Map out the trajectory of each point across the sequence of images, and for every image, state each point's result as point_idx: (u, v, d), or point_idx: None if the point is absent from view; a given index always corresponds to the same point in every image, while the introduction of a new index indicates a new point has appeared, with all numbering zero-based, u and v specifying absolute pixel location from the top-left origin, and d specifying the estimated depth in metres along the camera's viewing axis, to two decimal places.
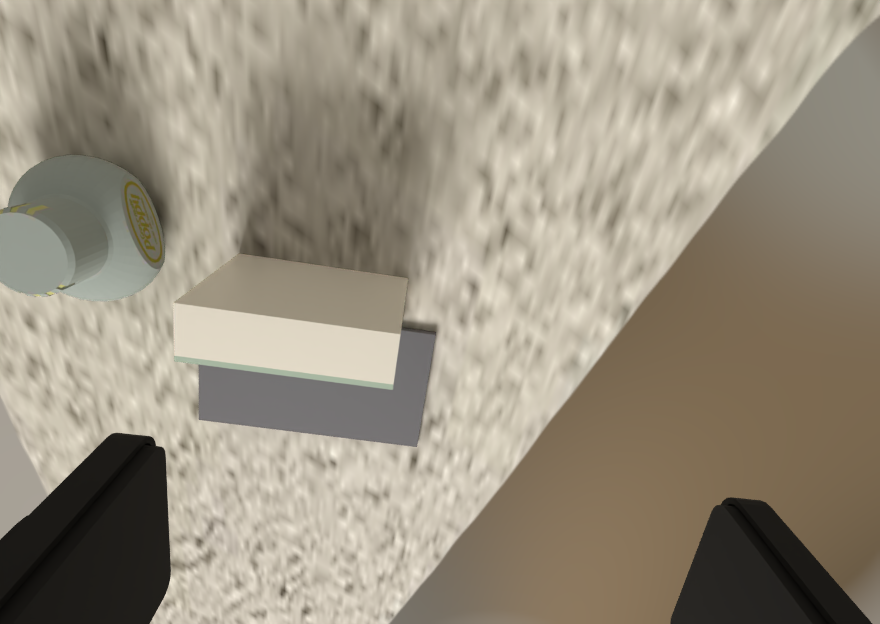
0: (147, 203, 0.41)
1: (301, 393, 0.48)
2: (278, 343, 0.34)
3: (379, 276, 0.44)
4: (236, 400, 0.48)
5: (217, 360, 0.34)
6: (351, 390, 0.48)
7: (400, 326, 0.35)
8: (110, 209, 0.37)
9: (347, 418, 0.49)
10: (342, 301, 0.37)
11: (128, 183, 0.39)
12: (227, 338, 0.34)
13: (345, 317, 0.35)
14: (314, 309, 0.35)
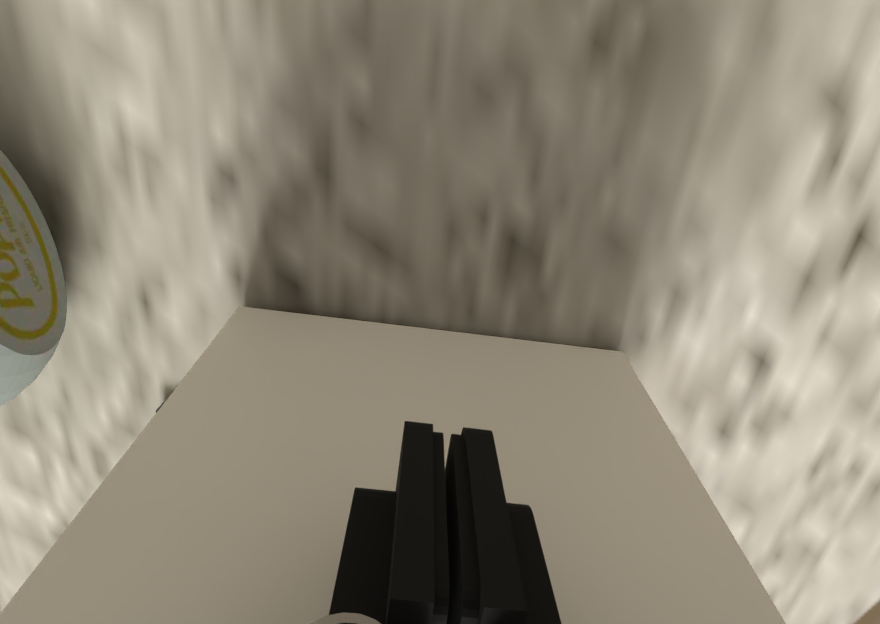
0: (10, 191, 0.16)
1: None
2: None
3: (564, 353, 0.19)
4: None
5: None
6: None
7: None
8: None
9: None
10: (543, 494, 0.13)
11: None
12: None
13: (601, 608, 0.10)
14: None
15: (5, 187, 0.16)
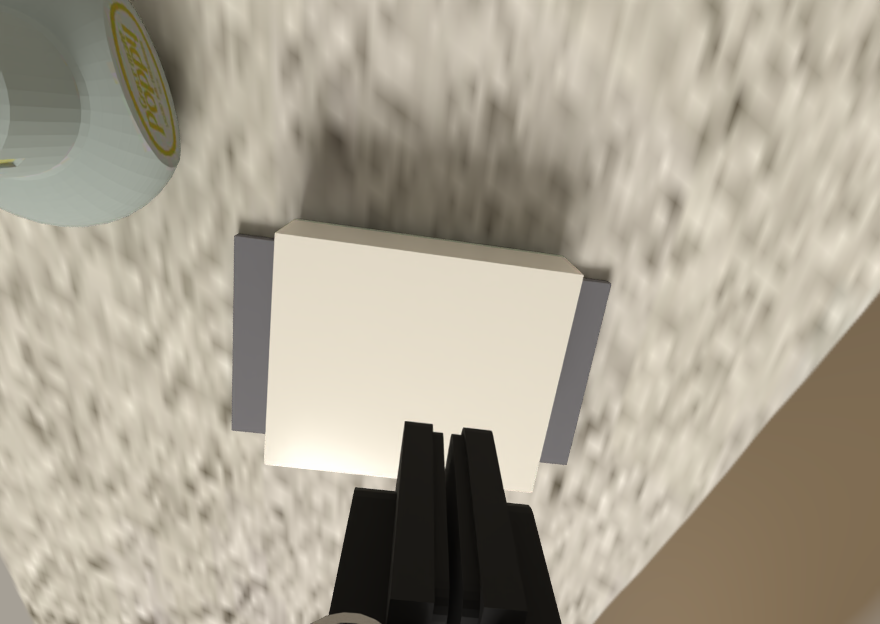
0: (150, 56, 0.24)
1: None
2: None
3: (531, 281, 0.25)
4: None
5: None
6: None
7: (535, 472, 0.28)
8: (83, 37, 0.20)
9: None
10: (463, 411, 0.27)
11: (118, 5, 0.22)
12: None
13: None
14: None
15: (148, 52, 0.24)
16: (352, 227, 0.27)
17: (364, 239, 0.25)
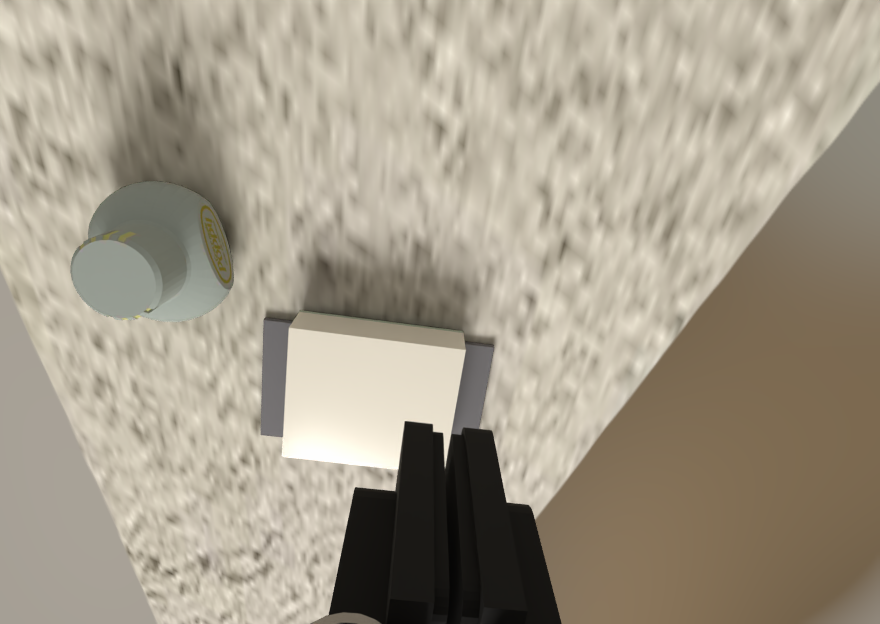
0: (218, 226, 0.42)
1: None
2: None
3: (435, 353, 0.43)
4: None
5: None
6: None
7: (445, 462, 0.46)
8: (188, 233, 0.38)
9: None
10: (400, 426, 0.45)
11: (203, 207, 0.40)
12: None
13: None
14: (379, 446, 0.46)
15: (217, 224, 0.42)
16: (334, 315, 0.45)
17: (340, 328, 0.43)
